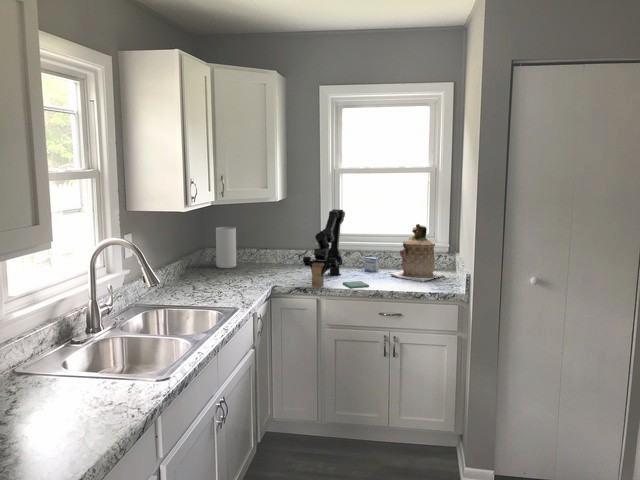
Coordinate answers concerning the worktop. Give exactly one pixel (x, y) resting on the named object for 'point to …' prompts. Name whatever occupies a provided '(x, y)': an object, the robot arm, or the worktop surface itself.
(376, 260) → the medicine box
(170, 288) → the worktop surface
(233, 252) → the cylinder vase
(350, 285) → the green mat
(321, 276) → the walnut block
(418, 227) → the cookie jar
